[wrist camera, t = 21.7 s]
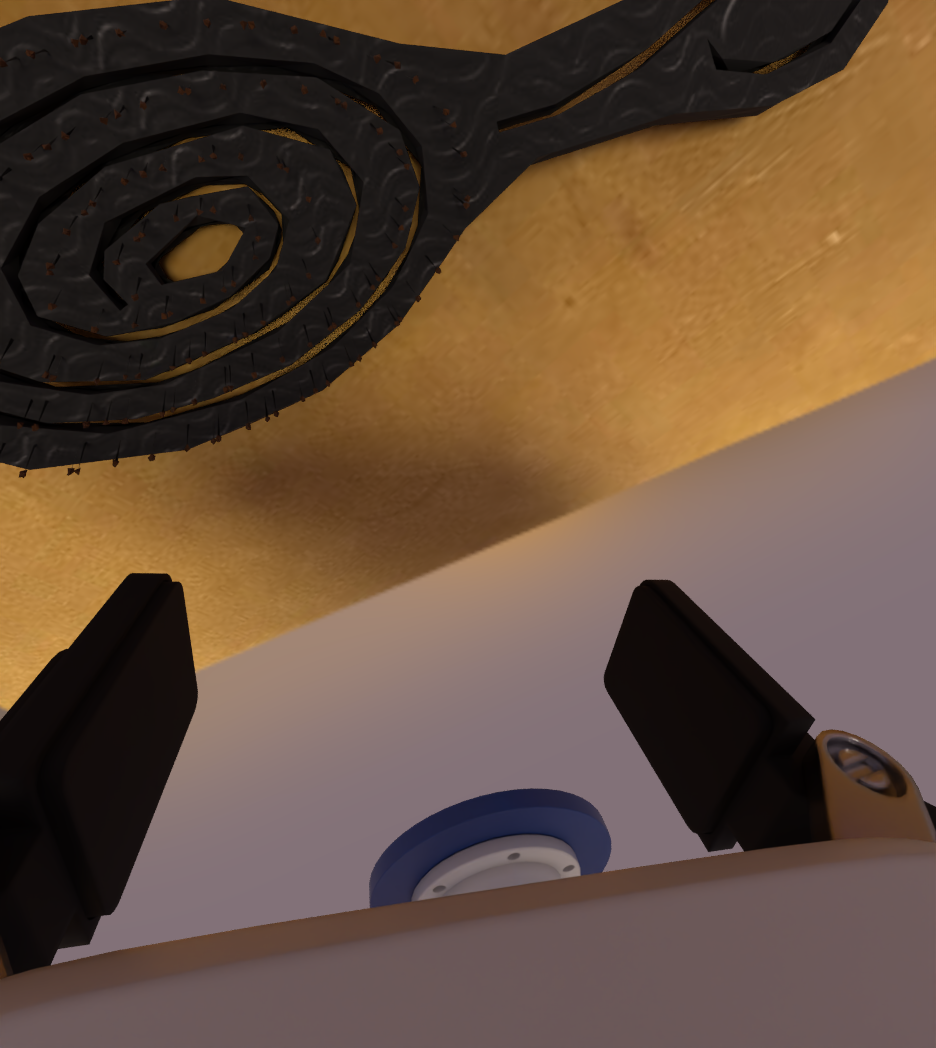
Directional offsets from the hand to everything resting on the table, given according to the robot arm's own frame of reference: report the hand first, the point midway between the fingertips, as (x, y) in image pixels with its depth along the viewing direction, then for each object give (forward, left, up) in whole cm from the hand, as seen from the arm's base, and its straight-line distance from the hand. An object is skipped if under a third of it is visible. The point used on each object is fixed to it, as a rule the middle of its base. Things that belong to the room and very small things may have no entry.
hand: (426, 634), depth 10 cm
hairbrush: (+9, +1, -7) cm, 12 cm away
